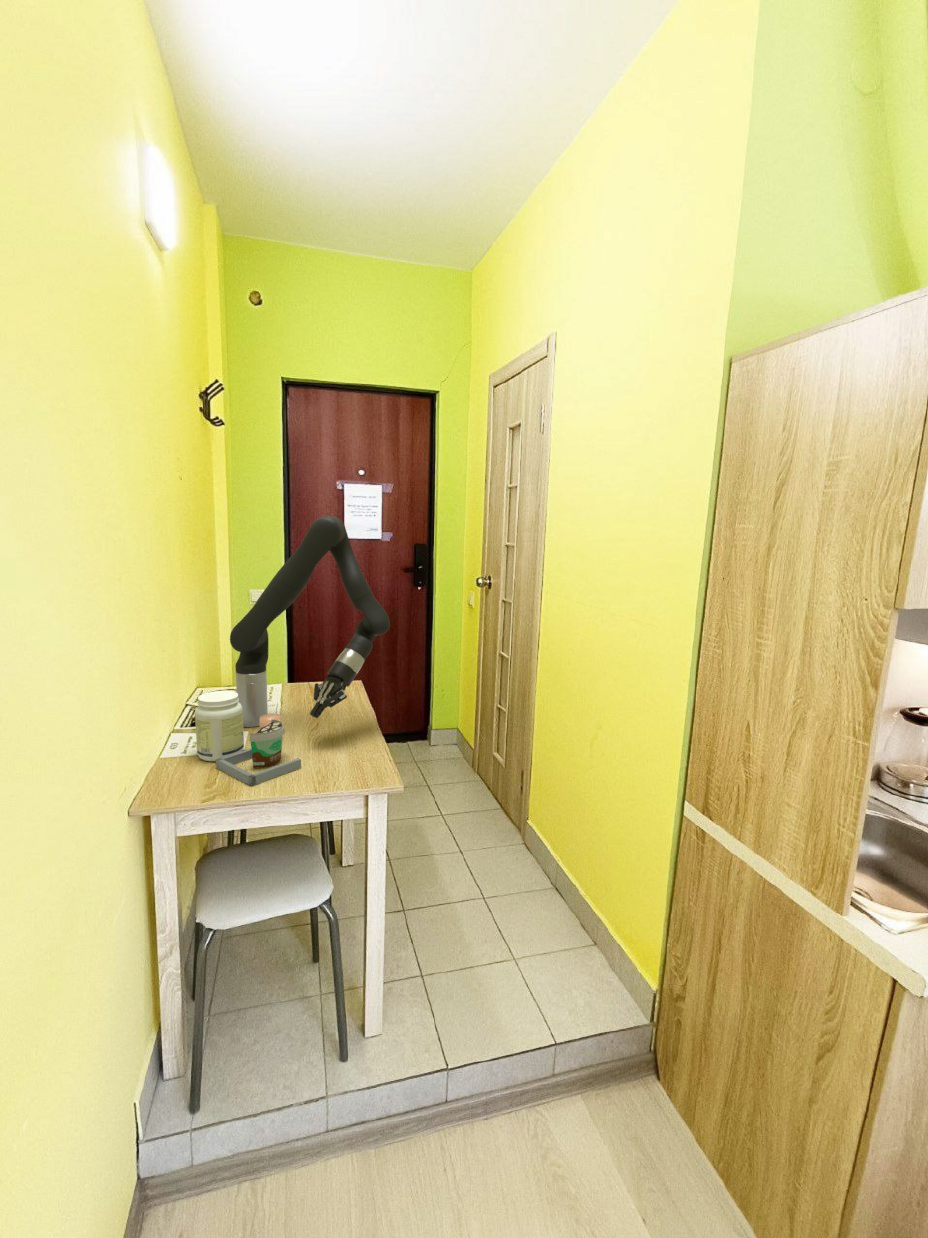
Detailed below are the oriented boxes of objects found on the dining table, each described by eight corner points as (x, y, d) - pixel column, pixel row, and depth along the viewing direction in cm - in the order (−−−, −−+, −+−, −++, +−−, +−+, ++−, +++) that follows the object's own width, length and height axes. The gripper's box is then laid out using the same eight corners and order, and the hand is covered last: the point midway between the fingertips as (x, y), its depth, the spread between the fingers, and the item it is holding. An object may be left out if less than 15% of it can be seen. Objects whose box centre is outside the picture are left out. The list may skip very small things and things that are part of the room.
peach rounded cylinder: (256, 743, 172) (255, 717, 171) (273, 737, 177) (273, 712, 175) (268, 748, 168) (267, 721, 167) (285, 742, 173) (285, 716, 172)
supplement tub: (244, 744, 171) (242, 688, 168) (243, 760, 160) (241, 700, 157) (199, 748, 167) (196, 691, 164) (194, 765, 156) (191, 704, 153)
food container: (271, 772, 153) (270, 736, 151) (250, 770, 154) (248, 733, 152) (293, 754, 165) (292, 720, 163) (273, 752, 166) (272, 718, 164)
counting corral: (216, 768, 154) (216, 759, 154) (265, 751, 166) (265, 743, 165) (251, 786, 144) (251, 777, 144) (301, 767, 156) (300, 759, 155)
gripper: (325, 656, 176) (291, 704, 169) (354, 663, 168) (320, 714, 161) (339, 670, 181) (307, 717, 174) (368, 678, 173) (335, 728, 166)
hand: (313, 716), depth 167 cm, fingers closed
